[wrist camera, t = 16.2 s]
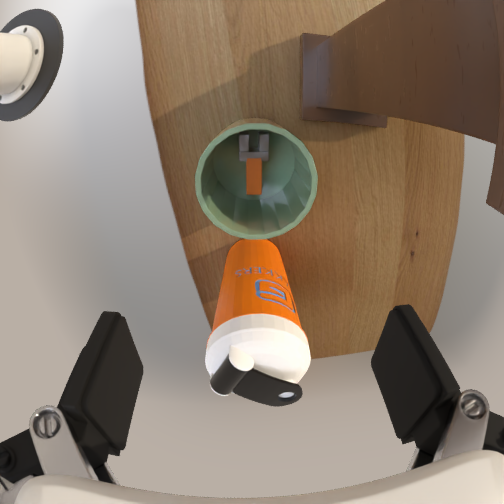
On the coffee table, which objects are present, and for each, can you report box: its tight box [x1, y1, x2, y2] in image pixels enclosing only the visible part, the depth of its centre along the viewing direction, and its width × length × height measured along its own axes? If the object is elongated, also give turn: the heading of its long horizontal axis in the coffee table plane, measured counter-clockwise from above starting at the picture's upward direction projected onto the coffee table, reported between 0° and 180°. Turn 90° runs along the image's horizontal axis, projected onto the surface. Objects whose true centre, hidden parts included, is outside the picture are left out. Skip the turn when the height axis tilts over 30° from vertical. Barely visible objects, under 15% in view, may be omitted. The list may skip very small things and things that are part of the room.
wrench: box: [239, 132, 269, 195], centre depth 30 cm, size 6×3×3 cm, turn 0°
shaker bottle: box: [205, 239, 311, 406], centre depth 30 cm, size 9×9×20 cm
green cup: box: [195, 118, 318, 240], centre depth 28 cm, size 10×10×10 cm
